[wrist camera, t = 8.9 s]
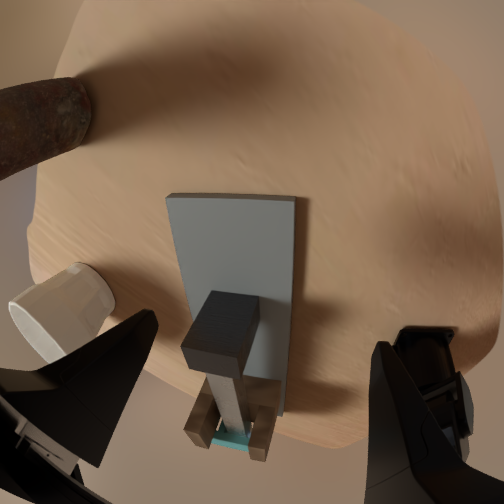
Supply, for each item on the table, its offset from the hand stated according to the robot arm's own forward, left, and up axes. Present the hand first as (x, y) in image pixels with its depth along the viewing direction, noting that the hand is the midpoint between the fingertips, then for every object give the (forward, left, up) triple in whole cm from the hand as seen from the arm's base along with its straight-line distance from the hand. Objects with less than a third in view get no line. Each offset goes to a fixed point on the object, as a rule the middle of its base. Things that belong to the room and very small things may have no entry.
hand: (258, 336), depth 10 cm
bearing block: (+5, +24, -12) cm, 27 cm away
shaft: (+5, +9, -12) cm, 16 cm away
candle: (+20, -10, -12) cm, 25 cm away
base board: (+5, +16, -12) cm, 20 cm away
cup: (+26, +12, -12) cm, 31 cm away
